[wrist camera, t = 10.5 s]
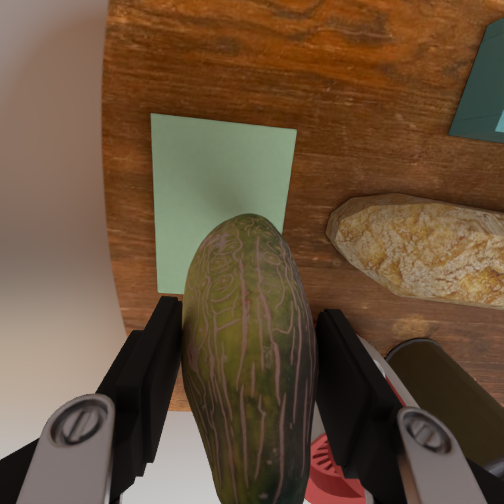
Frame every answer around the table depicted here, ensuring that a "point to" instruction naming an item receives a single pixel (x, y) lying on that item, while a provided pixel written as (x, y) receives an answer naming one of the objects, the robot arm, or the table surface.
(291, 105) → the table surface
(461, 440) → the canister
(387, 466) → the robot arm
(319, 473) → the citrus juicer
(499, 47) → the divided rectangular frame
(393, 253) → the bread
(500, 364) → the table surface
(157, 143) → the mat
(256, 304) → the vegetable
